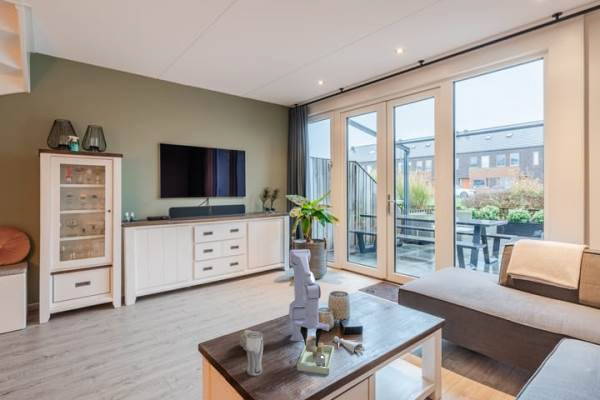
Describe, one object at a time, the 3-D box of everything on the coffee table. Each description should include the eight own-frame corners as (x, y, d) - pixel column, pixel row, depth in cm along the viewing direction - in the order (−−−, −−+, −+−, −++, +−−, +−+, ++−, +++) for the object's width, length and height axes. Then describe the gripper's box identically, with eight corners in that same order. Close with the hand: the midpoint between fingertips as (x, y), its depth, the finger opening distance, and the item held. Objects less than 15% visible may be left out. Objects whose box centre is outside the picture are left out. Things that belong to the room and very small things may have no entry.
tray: (306, 349, 143) (306, 342, 143) (334, 352, 140) (334, 346, 140) (296, 371, 126) (296, 364, 126) (328, 376, 123) (328, 368, 123)
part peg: (316, 364, 130) (316, 353, 129) (325, 366, 129) (325, 354, 129) (314, 370, 126) (314, 358, 126) (324, 371, 125) (324, 359, 125)
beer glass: (255, 364, 131) (255, 329, 130) (267, 370, 126) (267, 334, 126) (242, 372, 125) (242, 335, 125) (254, 378, 121) (254, 340, 120)
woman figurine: (353, 349, 135) (325, 337, 149) (353, 360, 135) (325, 346, 149) (371, 342, 142) (342, 330, 156) (371, 351, 142) (343, 339, 156)
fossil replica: (256, 340, 152) (236, 347, 147) (254, 323, 152) (234, 329, 147) (265, 350, 141) (244, 357, 137) (263, 331, 141) (242, 338, 137)
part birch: (305, 351, 131) (305, 339, 131) (307, 346, 135) (308, 335, 135) (315, 352, 130) (315, 340, 130) (317, 348, 134) (317, 336, 134)
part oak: (312, 357, 135) (312, 346, 135) (314, 352, 139) (314, 341, 139) (321, 358, 134) (321, 347, 134) (323, 354, 138) (323, 342, 138)
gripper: (292, 315, 130) (292, 347, 130) (327, 318, 126) (327, 351, 127) (296, 309, 137) (296, 339, 137) (329, 312, 133) (329, 343, 134)
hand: (311, 345), depth 132 cm, fingers closed on part birch, 4 cm apart
